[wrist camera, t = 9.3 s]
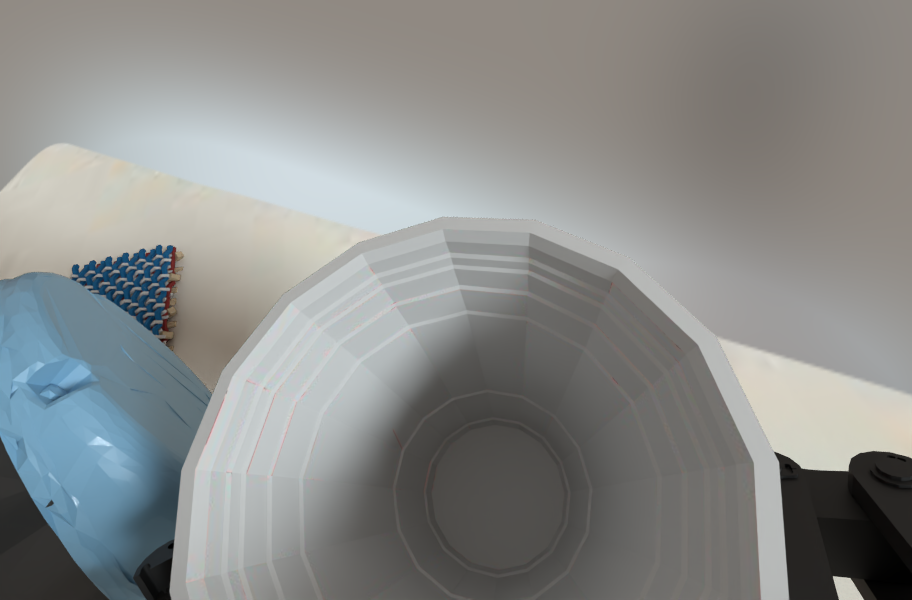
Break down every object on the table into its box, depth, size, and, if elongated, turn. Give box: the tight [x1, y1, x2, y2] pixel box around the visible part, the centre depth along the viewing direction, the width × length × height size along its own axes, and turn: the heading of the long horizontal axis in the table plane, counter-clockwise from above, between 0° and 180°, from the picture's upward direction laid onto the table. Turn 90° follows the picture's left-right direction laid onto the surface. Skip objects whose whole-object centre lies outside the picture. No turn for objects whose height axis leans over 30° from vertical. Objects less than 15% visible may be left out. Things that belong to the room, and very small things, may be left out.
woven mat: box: [70, 245, 184, 351], centre depth 38 cm, size 10×11×2 cm
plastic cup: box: [170, 217, 789, 600], centre depth 13 cm, size 11×11×12 cm
